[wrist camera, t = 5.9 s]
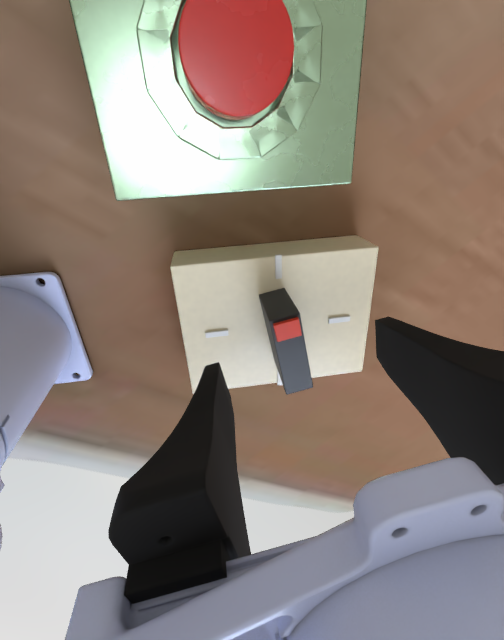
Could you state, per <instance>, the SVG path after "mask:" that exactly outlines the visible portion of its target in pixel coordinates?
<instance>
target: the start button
mask: <svg viewBox="0 0 504 640" xmlns="http://www.w3.org/2000/svg"><path fill="white" fill-rule="evenodd" d="M178 46H179V54H180V60H181V64H182V69H183V73H184V76H185V79H186V82H187V84H188V86H189V88H190V90H191V92H192V94H193V95H194V97H195V98H196V99H197V101H198V102H199V103H200V104H201V105H202V106H203V107H204V108H205V109H206V110H208V111H209V112H211V113H212V114H214V115H216V116H218V117H221V118H224V119H229V120H242V119H246V118H249V117H252V116H254V115H256V114H257V113H259V112H260V111H262V110H264V109H265V108H267V107H268V106H269V105H270V104H271V103H273V102H274V100H275V99H276V98H277V97H278V96H279V94H280V93H281V91H282V90H283V88H284V86H285V84H286V82H287V80H288V77H289V75H290V72H291V68H292V63H293V57H294V35H293V28H292V24H291V20H290V17H289V14H288V11H287V9H286V7H285V5H284V3H283V0H186V2H185V5H184V7H183V10H182V13H181V17H180V22H179V29H178Z"/></svg>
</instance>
